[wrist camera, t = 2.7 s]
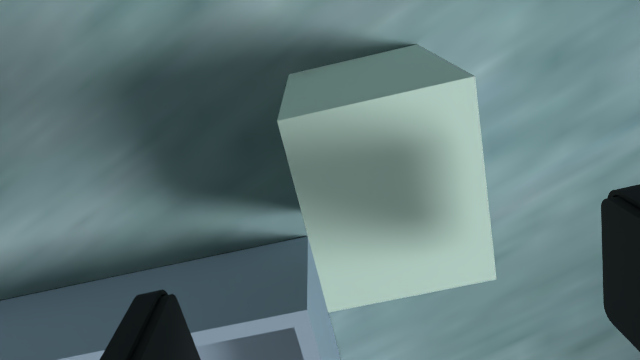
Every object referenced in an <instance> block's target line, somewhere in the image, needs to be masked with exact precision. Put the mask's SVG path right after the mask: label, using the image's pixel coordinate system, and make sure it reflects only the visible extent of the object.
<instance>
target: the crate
mask: <svg viewBox="0 0 640 360" xmlns="http://www.w3.org/2000/svg"><path fill="white" fill-rule="evenodd" d="M162 289H163V290H165V291H166V292H167V293H168V295H170V294H174V295H175V296H176V298H177V300H178V302H179V305H180V307H181V310H182V313H183V315H184V318H185V320H186V323H187V325H188V328H189V331H190V333H191V336H192V338H193V341H194V343H195V346H196V349H197V351H198V354H199V356H200V359H201V360H341V358H340V354H339V351H338V347H337V343H336V339H335V336H334V332H333V328H332V324H331V321H330V317H329V313H328V310H327V306H326V302H325V298H324V295H323V291H322V287H321V283H320V280H319V276H318V272H317V269H316V265H315V261H314V257H313V254H312V250H311V246H310V242H309V239H308V236H307V237H302V238H297V239H293V240H288V241H283V242H278V243H273V244H269V245H264V246H259V247H254V248H250V249H245V250H240V251H235V252H230V253H226V254H221V255H216V256H211V257H207V258H202V259H197V260H192V261H187V262H183V263H178V264H173V265H168V266H164V267H159V268H154V269H149V270H145V271H140V272H135V273H130V274H125V275H121V276H116V277H111V278H106V279H102V280H97V281H92V282H87V283H82V284H78V285H73V286H68V287H63V288H59V289H54V290H49V291H44V292H39V293H35V294H30V295H25V296H20V297H16V298H11V299H6V300H1V301H0V360H100V358H101V356H102V354H103V353H104V351H105V349H106V347H107V346H108V344H109V342H110V340H111V338H112V337H113V335H114V333H115V331H116V330H117V328H118V326H119V324H120V322H121V321H122V319H123V317H124V315H125V314H126V312H127V310H128V308H129V307H130V305H131V303H132V301H133V299H134V298H135V297H136V295H139V294H144V293H148V292H153V291H157V290H162Z"/></svg>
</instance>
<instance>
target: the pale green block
mask: <svg viewBox="0 0 640 360" xmlns="http://www.w3.org/2000/svg"><path fill="white" fill-rule="evenodd" d="M277 123H278V126H279V130H280V134H281V138H282V141H283V145H284V149H285V152H286V156H287V160H288V164H289V167H290V171H291V175H292V179H293V182H294V186H295V190H296V194H297V197H298V201H299V205H300V209H301V212H302V216H303V220H304V224H305V227H306V231H307V235H308V239H309V242H310V246H311V250H312V254H313V257H314V261H315V265H316V269H317V272H318V276H319V280H320V283H321V287H322V291H323V295H324V298H325V302H326V306H327V310H328V313H329V312H334V311H339V310H344V309H349V308H354V307H359V306H364V305H369V304H374V303H379V302H384V301H389V300H394V299H400V298H405V297H410V296H415V295H420V294H425V293H430V292H435V291H440V290H445V289H450V288H455V287H460V286H465V285H470V284H475V283H480V282H485V281H491V280H496V270H495V261H494V251H493V242H492V233H491V223H490V214H489V204H488V195H487V185H486V176H485V167H484V157H483V148H482V138H481V129H480V120H479V110H478V101H477V91H476V82H475V76H474V75H472V74H470V73H468V72H466V71H465V70H463V69H461V68H459V67H457V66H455V65H454V64H452V63H450V62H448V61H446V60H445V59H443V58H441V57H439V56H437V55H436V54H434V53H432V52H430V51H428V50H427V49H425V48H423V47H421V46H419V45H418V44H416V45H412V46H408V47H404V48H399V49H395V50H391V51H386V52H382V53H378V54H374V55H369V56H365V57H361V58H356V59H352V60H348V61H343V62H339V63H335V64H331V65H326V66H322V67H318V68H313V69H309V70H305V71H300V72H296V73H292V74H289V76H288V80H287V84H286V88H285V92H284V96H283V100H282V104H281V108H280V112H279V116H278V119H277Z"/></svg>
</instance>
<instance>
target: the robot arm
mask: <svg viewBox="0 0 640 360" xmlns="http://www.w3.org/2000/svg"><path fill="white" fill-rule="evenodd" d="M601 219H602V257H603V294H604V309H605V312H606V314H607V317H608V318H609V320H610V321H611V322H612V324H613V325H614V326H615V327H616V328H617V329H618V330H619V331H620V332H621V333H622V334H623V335H624V336H625V337H626V338H627V339H628V340H629V341H630V342H631V343H632V344H633V345H634V346H635V347H636V348H637V349H638V350H639V351H640V185H635V186H630V187H626V188H621V189H617V190H612V191H611V192H610V193H609V195H608V198H607V199H604V200H603V201H602V204H601ZM100 360H201V359H200V356H199V354H198V351H197V349H196V346H195V343H194V341H193V338H192V336H191V333H190V331H189V328H188V325H187V323H186V320H185V318H184V315H183V313H182V310H181V307H180V305H179V302H178V300H177V298H176V296H175V295H174V294H170V295H168V293H167V292H166V291H165V290H163V289H162V290H157V291H153V292H148V293H144V294H139V295H136V297H135V298H134V299H133V301H132V303H131V305H130V307H129V308H128V310H127V312H126V314H125V315H124V317H123V319H122V321H121V322H120V324H119V326H118V328H117V330H116V331H115V333H114V335H113V337H112V338H111V340H110V342H109V344H108V346H107V347H106V349H105V351H104V353H103V354H102V356H101V358H100Z"/></svg>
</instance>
